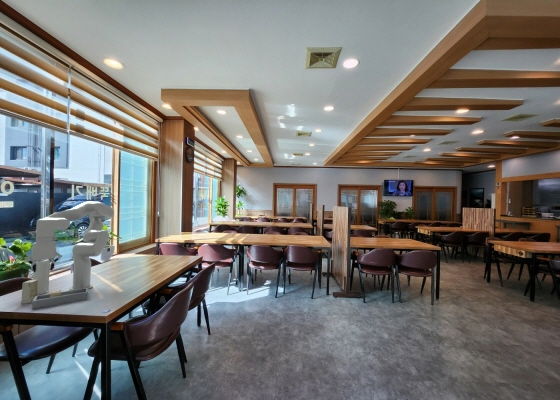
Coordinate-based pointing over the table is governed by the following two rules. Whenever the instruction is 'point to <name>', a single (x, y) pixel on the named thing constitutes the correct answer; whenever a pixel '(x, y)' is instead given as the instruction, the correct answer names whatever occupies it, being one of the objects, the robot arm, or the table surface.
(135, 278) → the table surface
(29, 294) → the skincare box
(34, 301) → the grey shallow box
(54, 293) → the maple block
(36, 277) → the paper towel roll
